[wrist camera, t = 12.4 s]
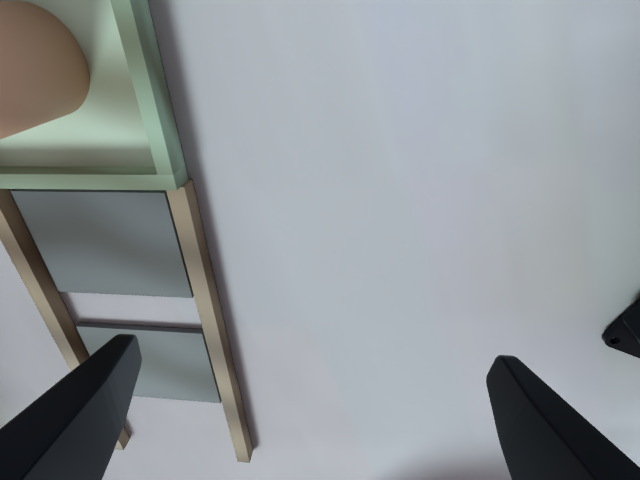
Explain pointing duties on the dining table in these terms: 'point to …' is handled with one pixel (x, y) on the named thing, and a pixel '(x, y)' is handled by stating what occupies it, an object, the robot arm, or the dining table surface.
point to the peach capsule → (37, 68)
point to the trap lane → (118, 214)
